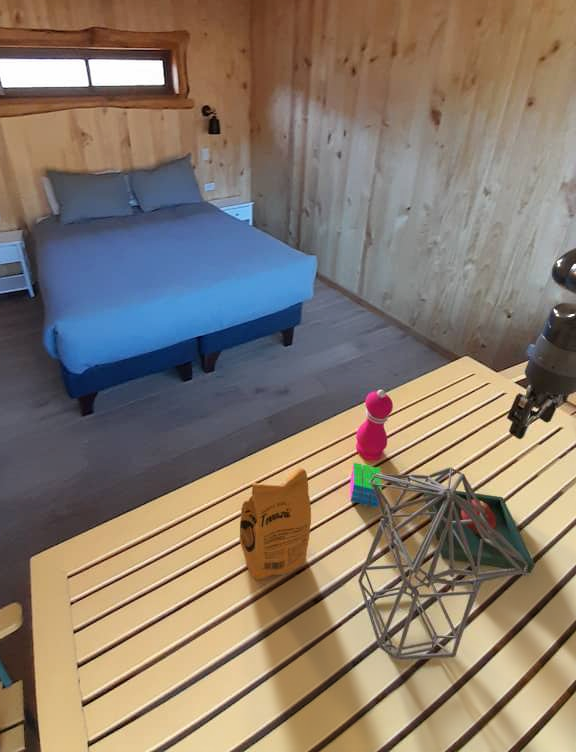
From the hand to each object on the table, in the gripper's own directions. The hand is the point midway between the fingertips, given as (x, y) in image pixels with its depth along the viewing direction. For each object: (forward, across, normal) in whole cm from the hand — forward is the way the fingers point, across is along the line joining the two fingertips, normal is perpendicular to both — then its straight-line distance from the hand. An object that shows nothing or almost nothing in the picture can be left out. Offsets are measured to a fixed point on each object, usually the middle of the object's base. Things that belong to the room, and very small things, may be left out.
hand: (529, 427), depth 77 cm
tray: (+24, -9, -1) cm, 26 cm away
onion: (+24, -9, -1) cm, 25 cm away
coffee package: (+23, -49, +14) cm, 56 cm away
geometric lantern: (+24, -35, -6) cm, 43 cm away
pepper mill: (+24, -14, +23) cm, 36 cm away
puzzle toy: (+24, -24, +15) cm, 37 cm away
